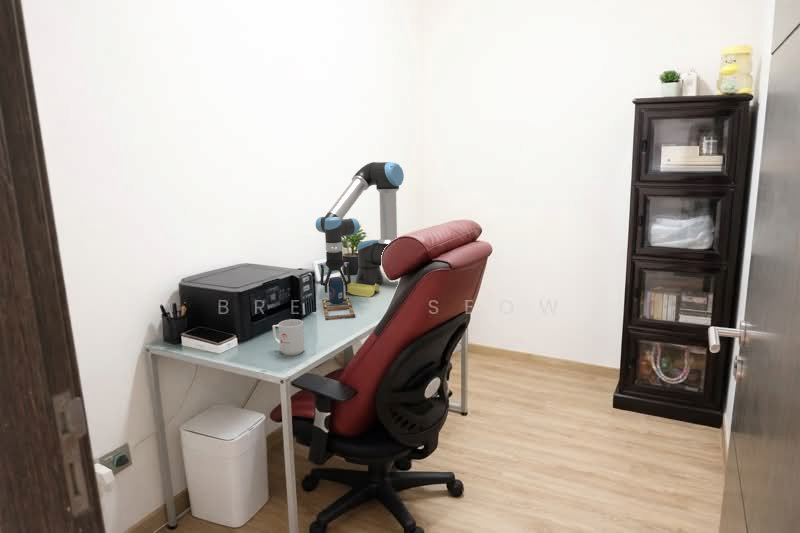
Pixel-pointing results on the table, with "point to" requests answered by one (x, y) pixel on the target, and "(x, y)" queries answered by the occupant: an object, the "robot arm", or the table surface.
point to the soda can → (336, 290)
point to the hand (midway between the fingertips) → (336, 298)
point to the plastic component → (362, 289)
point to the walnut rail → (339, 307)
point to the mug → (290, 336)
